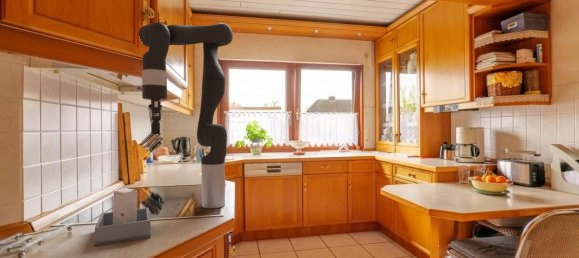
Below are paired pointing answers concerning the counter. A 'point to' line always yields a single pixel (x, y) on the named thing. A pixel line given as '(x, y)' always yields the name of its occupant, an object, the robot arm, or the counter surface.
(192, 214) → the counter surface
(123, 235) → the bin
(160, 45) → the robot arm
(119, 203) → the skincare box
